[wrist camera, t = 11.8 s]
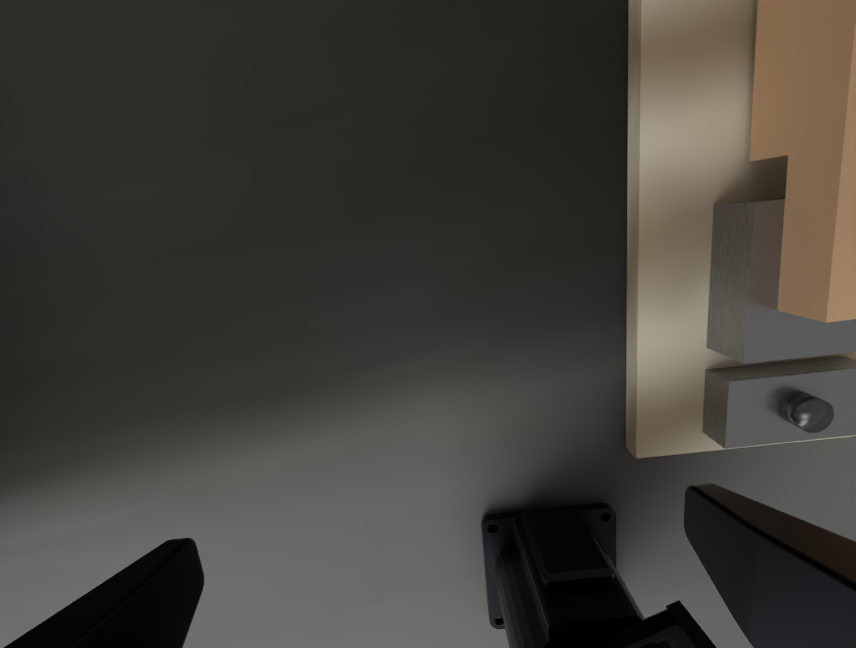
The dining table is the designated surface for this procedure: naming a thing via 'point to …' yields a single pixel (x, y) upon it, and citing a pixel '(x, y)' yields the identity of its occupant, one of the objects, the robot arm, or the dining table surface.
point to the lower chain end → (769, 342)
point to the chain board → (683, 204)
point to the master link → (810, 147)
